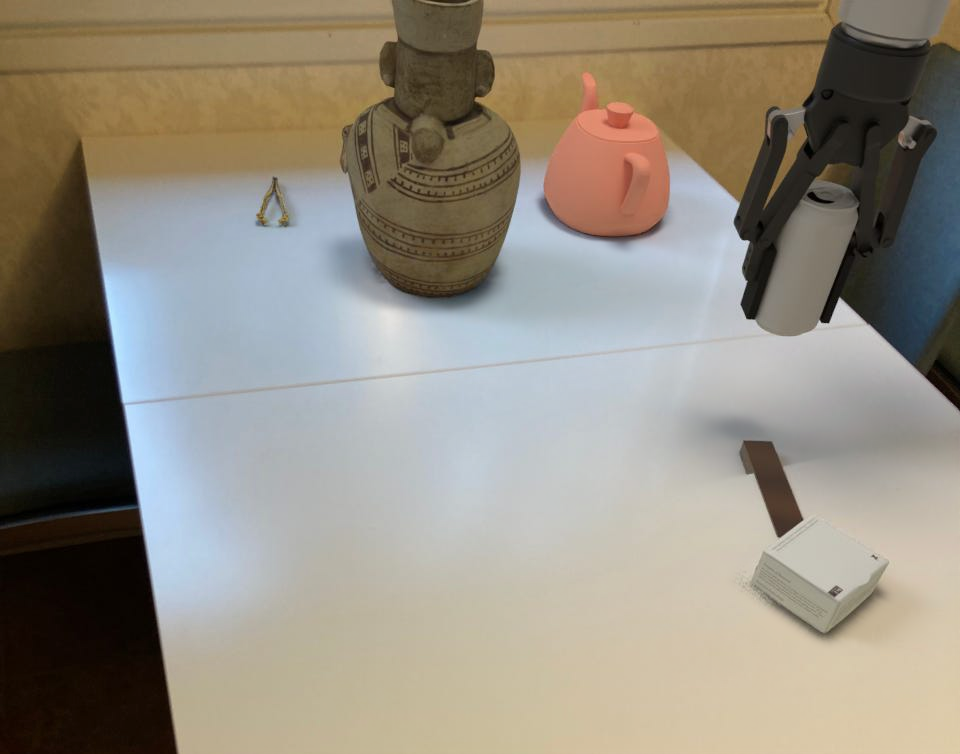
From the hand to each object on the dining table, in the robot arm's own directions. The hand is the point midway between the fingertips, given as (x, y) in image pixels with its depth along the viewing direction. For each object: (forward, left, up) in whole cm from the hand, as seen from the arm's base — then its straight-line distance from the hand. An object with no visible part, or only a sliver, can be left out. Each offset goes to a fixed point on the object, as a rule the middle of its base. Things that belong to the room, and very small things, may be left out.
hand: (784, 313), depth 87 cm
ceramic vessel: (+38, +21, -13) cm, 46 cm away
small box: (-23, +8, -13) cm, 28 cm away
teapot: (+49, -8, -13) cm, 52 cm away
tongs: (+60, +35, -13) cm, 71 cm away
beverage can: (0, 0, -1) cm, 1 cm away
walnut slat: (-10, +4, -13) cm, 17 cm away
